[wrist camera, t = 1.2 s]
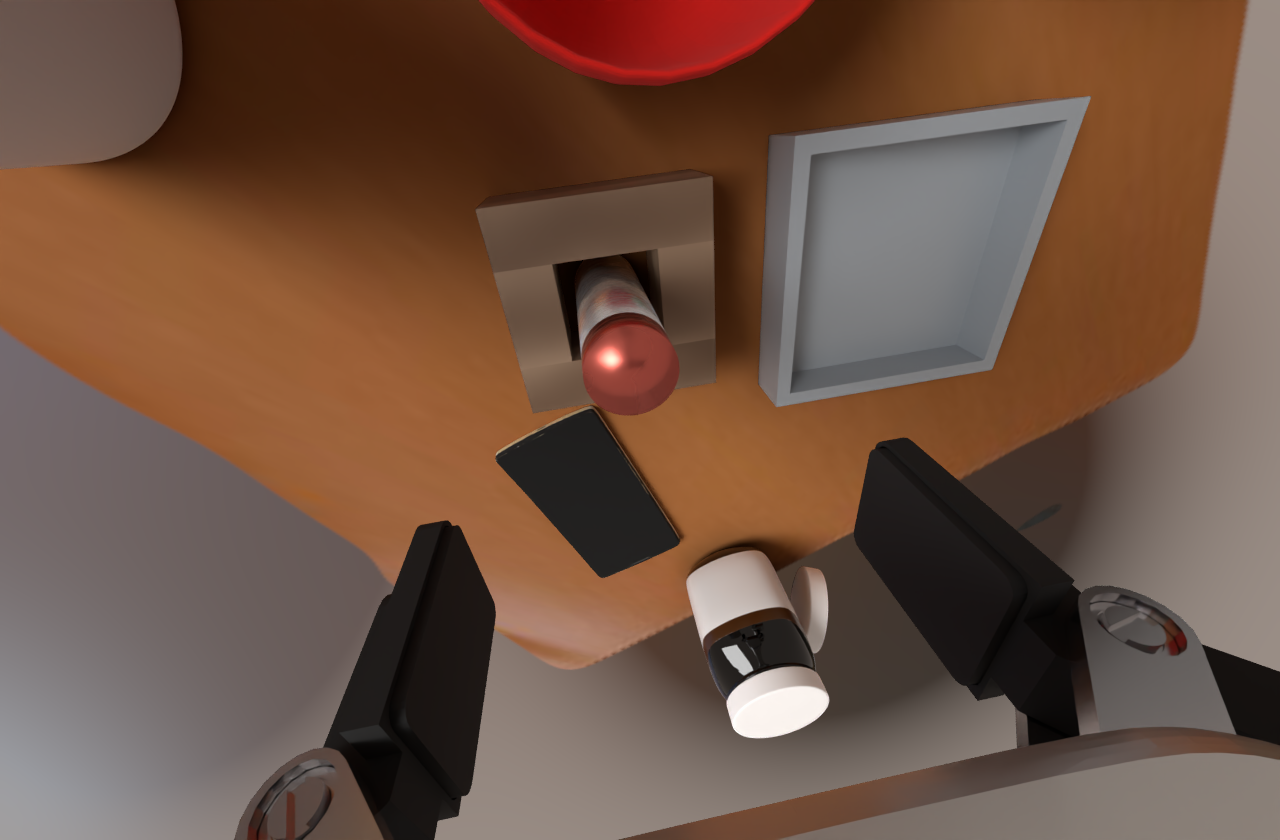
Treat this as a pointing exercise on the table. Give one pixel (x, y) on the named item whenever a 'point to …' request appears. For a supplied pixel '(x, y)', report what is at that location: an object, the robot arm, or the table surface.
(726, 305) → the table surface
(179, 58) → the cylinder vase
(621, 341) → the steel pin
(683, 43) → the red bowl
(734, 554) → the jar and lid
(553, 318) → the walnut socket block
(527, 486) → the dark small pieces
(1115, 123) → the table surface
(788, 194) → the slate tray
